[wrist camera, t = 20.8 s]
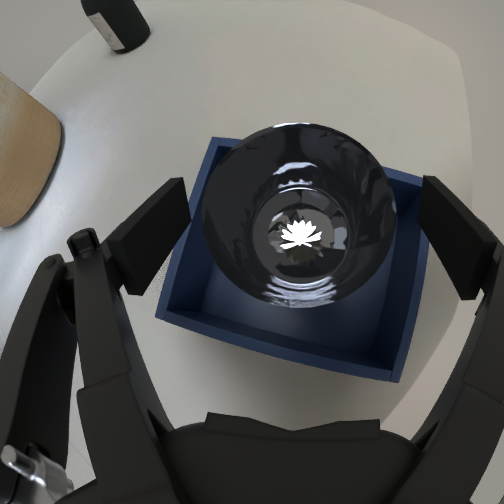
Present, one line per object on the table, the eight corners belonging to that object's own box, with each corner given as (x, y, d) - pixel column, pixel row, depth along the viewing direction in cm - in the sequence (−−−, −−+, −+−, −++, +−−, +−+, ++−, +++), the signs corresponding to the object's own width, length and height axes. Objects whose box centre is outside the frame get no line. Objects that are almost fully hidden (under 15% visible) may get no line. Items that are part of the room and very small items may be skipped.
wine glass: (354, 232, 25) (402, 143, 11) (335, 318, 24) (377, 329, 10) (270, 213, 27) (231, 113, 13) (248, 297, 26) (177, 279, 11)
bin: (403, 214, 26) (433, 181, 18) (373, 363, 24) (399, 383, 16) (235, 177, 30) (211, 136, 22) (194, 316, 27) (154, 317, 20)
